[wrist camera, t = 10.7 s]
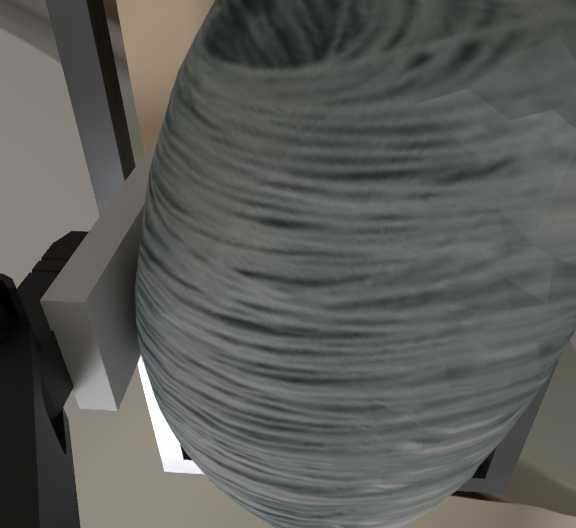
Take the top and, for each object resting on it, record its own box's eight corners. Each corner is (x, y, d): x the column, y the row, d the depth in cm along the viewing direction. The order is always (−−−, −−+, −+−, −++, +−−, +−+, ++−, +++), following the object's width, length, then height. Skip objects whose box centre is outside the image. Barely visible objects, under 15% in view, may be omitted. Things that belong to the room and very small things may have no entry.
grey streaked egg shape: (89, -291, 7) (408, 347, 2) (576, -152, 11) (1129, 198, 6) (101, 282, 18) (159, 629, 12) (350, 254, 21) (475, 510, 16)
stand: (447, 285, 42) (503, 493, 28) (222, 276, 43) (164, 471, 29) (540, -154, 26) (786, -197, 12) (177, -148, 27) (0, -180, 13)
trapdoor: (459, 338, 30) (483, 427, 25) (214, 327, 31) (190, 411, 26) (573, -121, 18) (662, -122, 13) (158, -116, 18) (95, -115, 14)
